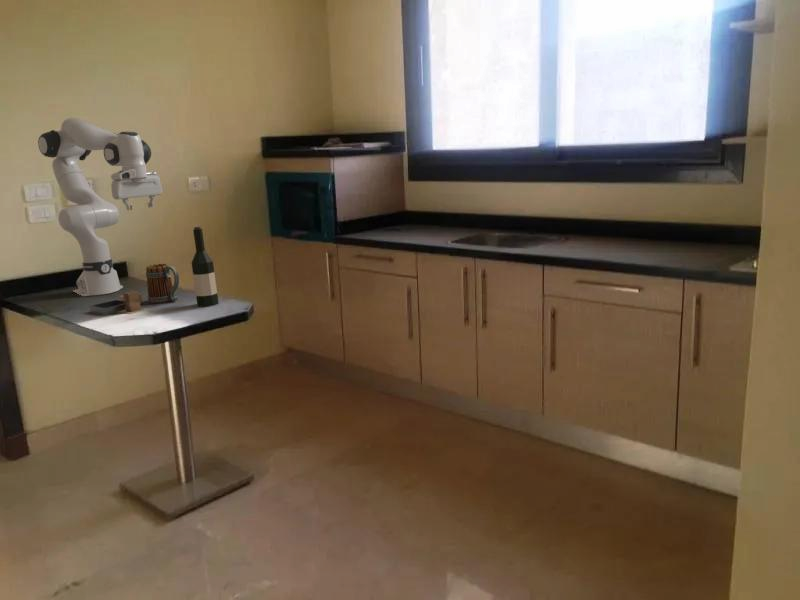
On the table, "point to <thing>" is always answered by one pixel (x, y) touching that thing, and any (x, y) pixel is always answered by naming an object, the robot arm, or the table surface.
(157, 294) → the mug
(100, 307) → the tin
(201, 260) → the wine bottle
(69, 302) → the table surface
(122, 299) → the terracotta pot
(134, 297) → the walnut block
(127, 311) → the light wooden board
